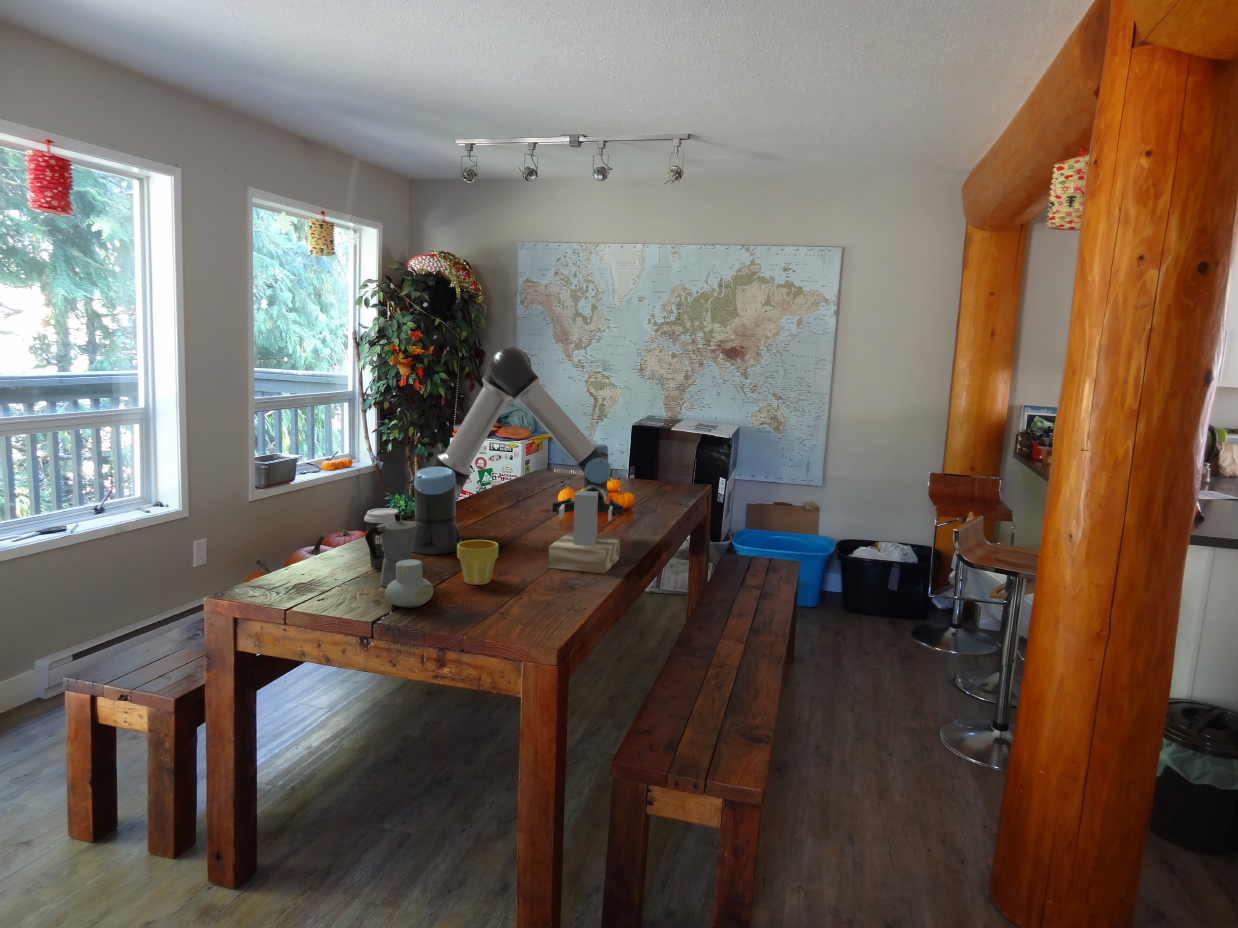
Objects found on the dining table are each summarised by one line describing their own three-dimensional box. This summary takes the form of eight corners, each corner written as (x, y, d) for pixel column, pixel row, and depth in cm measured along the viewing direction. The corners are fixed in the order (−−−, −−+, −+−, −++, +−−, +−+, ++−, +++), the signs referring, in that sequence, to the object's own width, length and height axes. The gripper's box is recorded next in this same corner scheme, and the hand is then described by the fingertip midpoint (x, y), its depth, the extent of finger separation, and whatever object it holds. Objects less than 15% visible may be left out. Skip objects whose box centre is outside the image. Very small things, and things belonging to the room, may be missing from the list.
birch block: (604, 573, 212) (605, 551, 211) (548, 567, 216) (548, 546, 215) (619, 558, 228) (620, 538, 227) (566, 553, 232) (567, 533, 231)
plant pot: (480, 572, 210) (480, 537, 208) (506, 580, 203) (506, 544, 202) (448, 581, 202) (448, 543, 200) (475, 589, 195) (475, 551, 194)
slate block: (594, 545, 218) (596, 495, 216) (573, 544, 218) (574, 494, 216) (596, 539, 224) (598, 491, 222) (575, 539, 224) (576, 490, 222)
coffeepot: (411, 574, 207) (410, 506, 204) (431, 582, 200) (431, 513, 198) (356, 585, 195) (355, 515, 193) (376, 594, 189) (375, 521, 186)
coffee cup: (364, 571, 208) (363, 515, 206) (365, 561, 217) (364, 508, 215) (401, 569, 210) (401, 514, 208) (401, 559, 220) (401, 507, 217)
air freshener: (409, 613, 177) (409, 570, 175) (379, 608, 180) (379, 566, 178) (438, 599, 187) (438, 559, 185) (409, 594, 190) (408, 554, 188)
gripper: (633, 513, 237) (629, 530, 216) (550, 510, 239) (539, 526, 218) (633, 489, 236) (630, 503, 215) (551, 486, 238) (540, 499, 217)
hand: (584, 514), depth 217 cm, fingers open, 13 cm apart
